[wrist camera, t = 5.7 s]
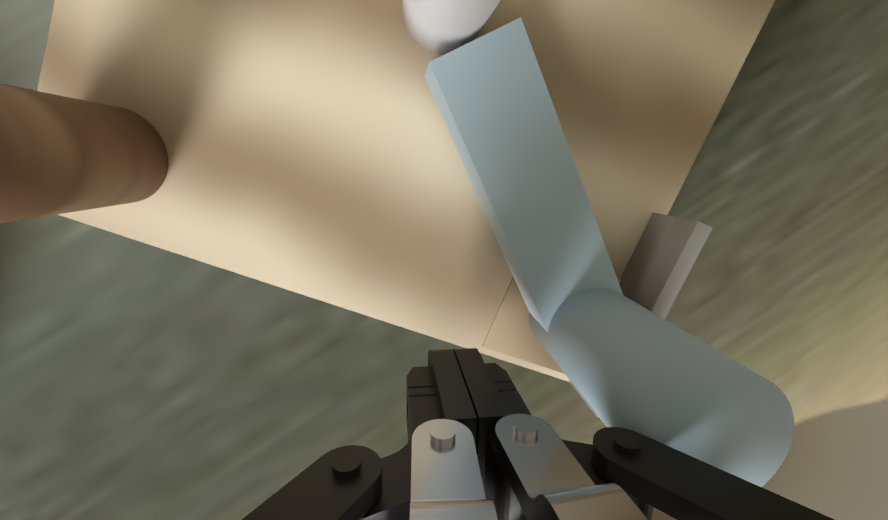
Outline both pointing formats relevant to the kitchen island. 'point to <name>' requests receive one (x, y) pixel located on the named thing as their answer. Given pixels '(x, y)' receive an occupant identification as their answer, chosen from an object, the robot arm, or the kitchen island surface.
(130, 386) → the kitchen island surface
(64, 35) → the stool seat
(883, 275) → the kitchen island surface
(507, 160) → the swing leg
